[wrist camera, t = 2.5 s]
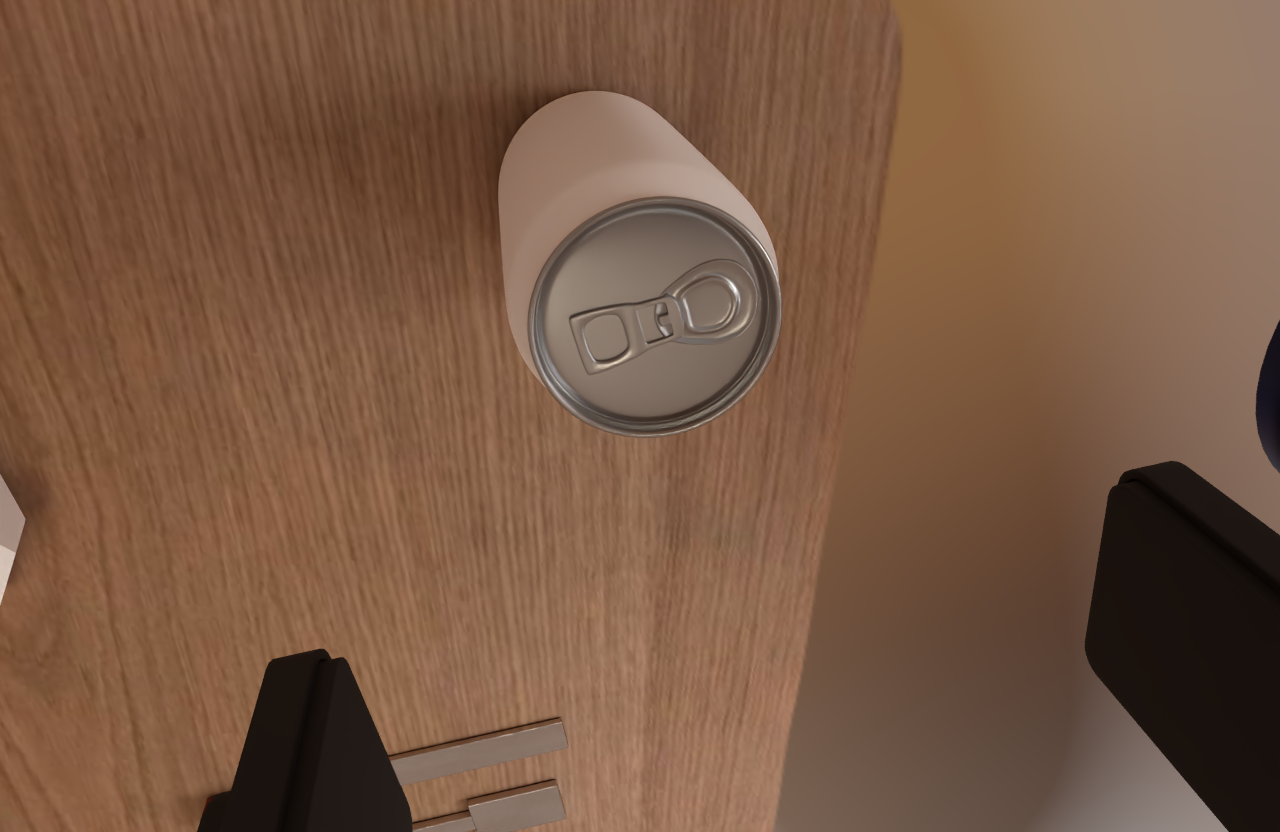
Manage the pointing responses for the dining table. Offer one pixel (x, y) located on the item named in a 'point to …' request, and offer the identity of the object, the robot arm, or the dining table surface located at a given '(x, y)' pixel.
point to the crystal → (8, 533)
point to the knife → (477, 752)
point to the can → (632, 269)
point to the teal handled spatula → (504, 811)
